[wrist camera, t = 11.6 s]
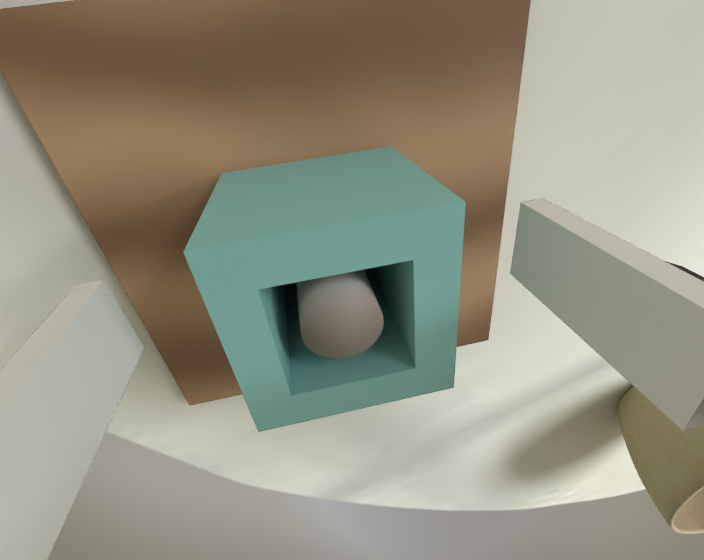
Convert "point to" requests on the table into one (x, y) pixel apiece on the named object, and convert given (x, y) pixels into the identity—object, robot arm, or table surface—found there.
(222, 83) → the post block
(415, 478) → the table surface
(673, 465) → the flower pot
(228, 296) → the collar
